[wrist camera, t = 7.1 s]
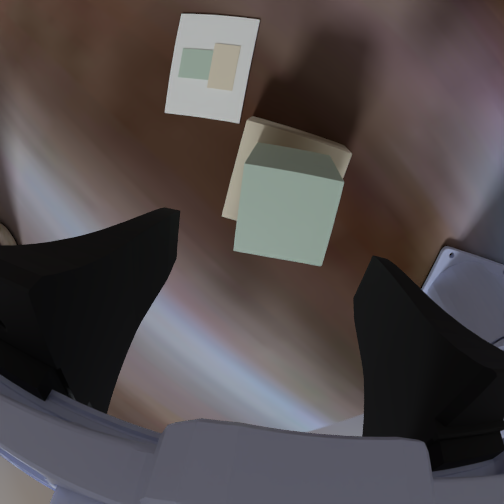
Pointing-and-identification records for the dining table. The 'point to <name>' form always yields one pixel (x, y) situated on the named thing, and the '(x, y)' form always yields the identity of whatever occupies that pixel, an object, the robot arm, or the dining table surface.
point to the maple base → (278, 136)
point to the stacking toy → (6, 236)
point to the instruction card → (211, 66)
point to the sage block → (287, 204)
